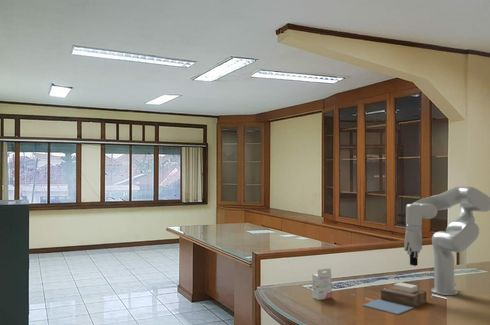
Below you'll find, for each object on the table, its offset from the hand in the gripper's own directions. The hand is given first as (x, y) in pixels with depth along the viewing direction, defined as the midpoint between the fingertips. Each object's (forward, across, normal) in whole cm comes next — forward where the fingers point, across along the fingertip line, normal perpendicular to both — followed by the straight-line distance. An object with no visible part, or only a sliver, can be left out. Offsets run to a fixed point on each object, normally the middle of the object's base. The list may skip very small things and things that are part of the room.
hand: (413, 265), depth 221 cm
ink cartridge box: (+17, +35, -30) cm, 49 cm away
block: (+11, +8, 0) cm, 14 cm away
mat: (+16, +25, 0) cm, 30 cm away
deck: (+16, +10, 0) cm, 19 cm away
